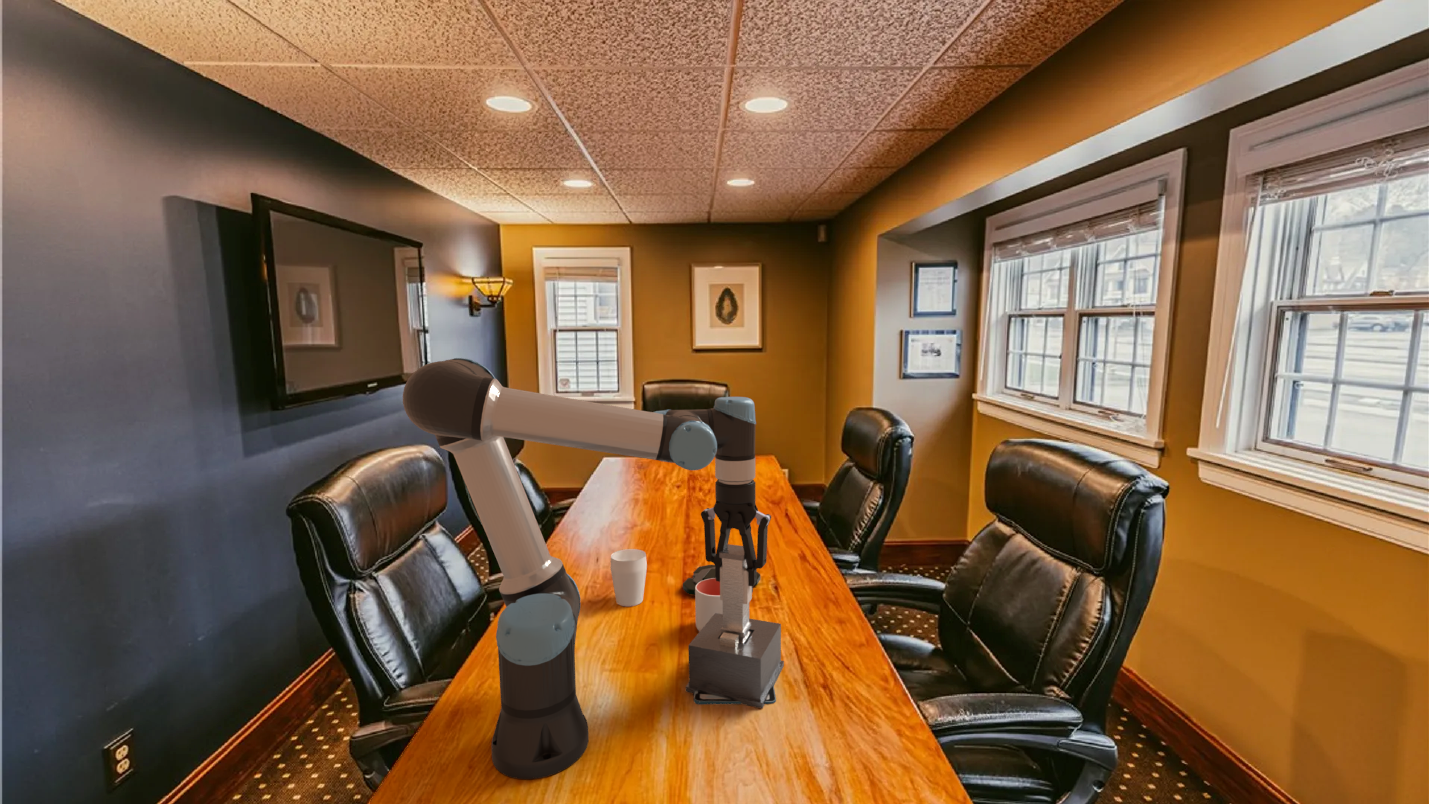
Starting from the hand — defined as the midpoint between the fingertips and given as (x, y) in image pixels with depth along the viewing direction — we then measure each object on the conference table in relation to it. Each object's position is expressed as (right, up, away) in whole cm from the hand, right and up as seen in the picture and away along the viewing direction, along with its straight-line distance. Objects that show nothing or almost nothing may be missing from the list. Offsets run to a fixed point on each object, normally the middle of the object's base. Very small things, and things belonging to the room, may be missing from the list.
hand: (735, 599), depth 116 cm
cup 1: (-25, -13, +37) cm, 46 cm away
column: (0, -11, +1) cm, 11 cm away
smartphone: (0, -17, -3) cm, 17 cm away
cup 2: (-3, -14, +22) cm, 26 cm away
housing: (0, -16, +2) cm, 16 cm away
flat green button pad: (-2, -12, +45) cm, 46 cm away
